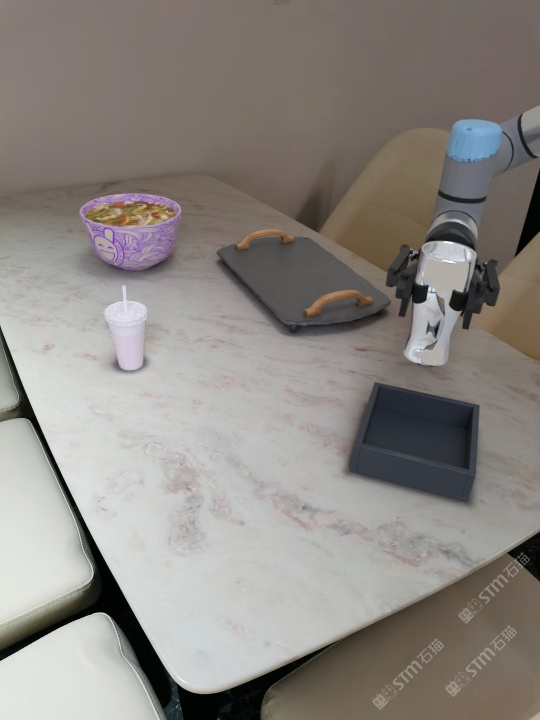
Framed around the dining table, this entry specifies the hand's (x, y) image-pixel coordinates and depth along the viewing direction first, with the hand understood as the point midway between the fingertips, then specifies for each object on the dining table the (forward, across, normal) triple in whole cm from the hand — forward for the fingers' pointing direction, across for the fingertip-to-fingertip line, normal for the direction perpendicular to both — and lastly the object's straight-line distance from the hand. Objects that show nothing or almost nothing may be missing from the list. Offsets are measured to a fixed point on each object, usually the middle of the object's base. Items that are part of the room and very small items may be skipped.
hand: (435, 313), depth 71 cm
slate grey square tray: (+2, -1, -20) cm, 20 cm away
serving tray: (-39, +27, -20) cm, 51 cm away
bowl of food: (-35, +62, -20) cm, 74 cm away
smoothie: (-2, +44, -20) cm, 48 cm away
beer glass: (-5, 0, -9) cm, 10 cm away
